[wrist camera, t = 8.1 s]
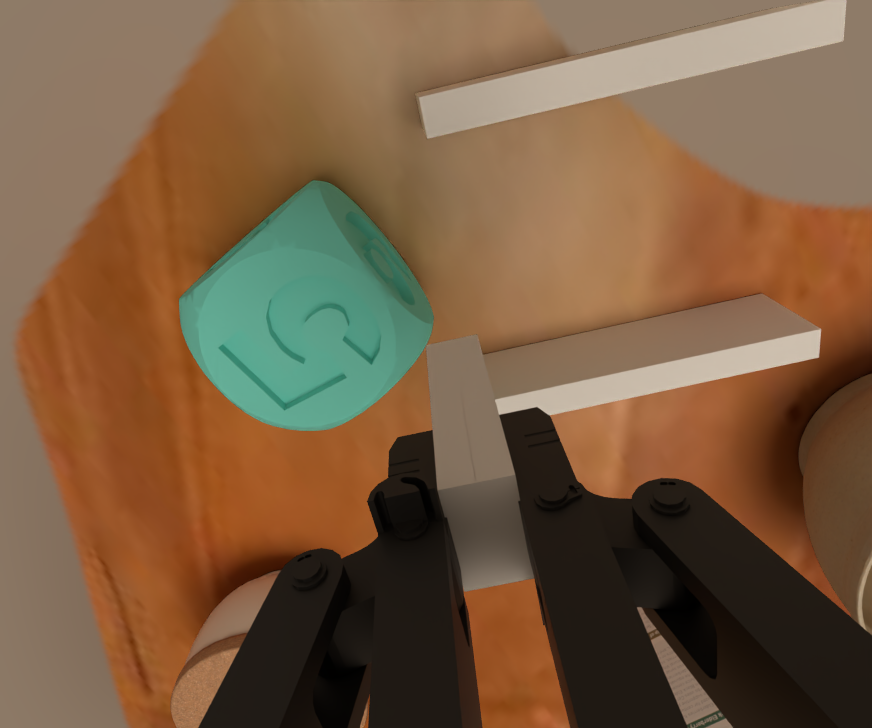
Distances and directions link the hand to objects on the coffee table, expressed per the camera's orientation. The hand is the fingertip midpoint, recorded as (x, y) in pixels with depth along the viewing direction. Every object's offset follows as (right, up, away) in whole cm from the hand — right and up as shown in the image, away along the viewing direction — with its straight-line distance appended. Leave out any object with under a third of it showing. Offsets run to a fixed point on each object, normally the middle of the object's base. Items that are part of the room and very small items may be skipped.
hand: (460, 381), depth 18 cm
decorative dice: (-7, +5, +13) cm, 16 cm away
